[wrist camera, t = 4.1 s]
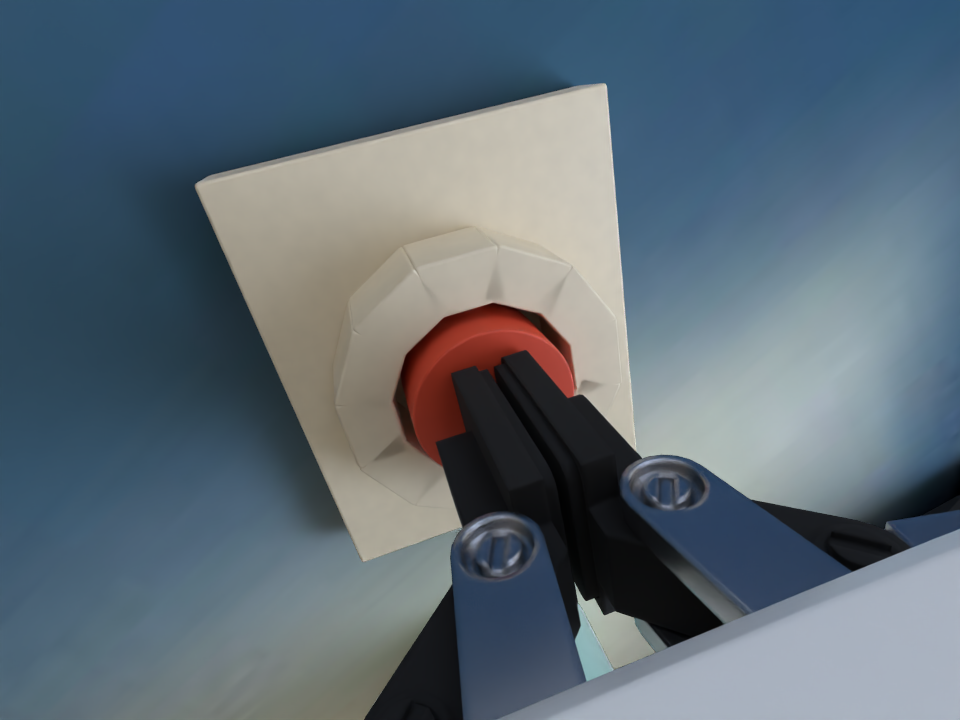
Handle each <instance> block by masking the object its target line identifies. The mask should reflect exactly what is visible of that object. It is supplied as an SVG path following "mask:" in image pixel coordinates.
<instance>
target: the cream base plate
mask: <svg viewBox="0 0 960 720" xmlns="http://www.w3.org/2000/svg"><path fill="white" fill-rule="evenodd" d="M195 189H196V191H197V194H198V196H199V198H200V200H201V202H202V205H203V207H204V209H205V211H206V214H207V216H208V218H209V220H210V223H211V225H212V227H213V229H214V232H215V234H216V236H217V238H218V241H219V243H220V245H221V247H222V250H223V252H224V254H225V256H226V258H227V261H228V263H229V265H230V267H231V270H232V272H233V274H234V276H235V279H236V281H237V283H238V285H239V288H240V290H241V292H242V294H243V297H244V299H245V301H246V303H247V306H248V308H249V310H250V312H251V315H252V317H253V319H254V321H255V323H256V326H257V328H258V330H259V332H260V335H261V337H262V339H263V341H264V344H265V346H266V348H267V350H268V353H269V355H270V357H271V359H272V362H273V364H274V366H275V368H276V371H277V373H278V375H279V377H280V379H281V382H282V384H283V386H284V388H285V391H286V393H287V395H288V397H289V400H290V402H291V404H292V406H293V409H294V411H295V413H296V415H297V418H298V420H299V422H300V424H301V427H302V429H303V431H304V433H305V436H306V438H307V440H308V442H309V444H310V447H311V449H312V451H313V453H314V456H315V458H316V460H317V462H318V465H319V467H320V469H321V471H322V474H323V476H324V478H325V480H326V483H327V485H328V487H329V489H330V492H331V494H332V496H333V498H334V500H335V503H336V505H337V507H338V509H339V512H340V514H341V516H342V518H343V521H344V523H345V525H346V527H347V530H348V532H349V534H350V536H351V539H352V541H353V543H354V545H355V548H356V550H357V552H358V554H359V556H360V559H361V561H362V562H366V561H369V560H371V559H374V558H377V557H380V556H383V555H385V554H388V553H391V552H394V551H397V550H399V549H402V548H405V547H408V546H411V545H413V544H416V543H419V542H422V541H425V540H427V539H430V538H433V537H436V536H439V535H441V534H444V533H447V532H450V531H453V530H455V529H458V528H461V527H462V525H461V522H460V519H459V516H458V513H457V510H456V507H455V504H454V501H453V498H452V495H451V492H450V488H449V485H448V482H447V479H446V476H445V472H444V469H443V467H442V466H441V465H439V464H438V463H436V462H435V461H434V460H433V459H432V458H430V457H429V455H428V454H427V453H426V452H425V451H424V449H423V448H422V446H421V444H420V443H419V441H418V438H417V436H416V433H415V430H414V426H413V423H412V419H411V416H410V412H409V409H408V405H407V402H406V398H405V394H404V391H403V387H402V383H401V370H402V366H403V363H404V359H405V356H406V354H407V353H408V352H409V351H410V350H411V349H412V348H413V347H414V346H415V345H416V344H417V343H418V342H419V341H420V340H421V339H422V338H423V337H424V336H425V335H426V334H427V333H428V332H429V331H430V330H432V329H433V328H434V327H435V326H436V325H437V324H438V323H439V322H440V321H441V320H442V319H443V318H444V317H447V316H450V315H454V314H457V313H460V312H464V311H467V310H470V309H474V308H477V307H481V306H484V305H487V304H491V303H496V304H500V305H505V306H509V307H513V308H515V309H517V310H518V311H520V312H521V313H522V314H523V315H525V316H526V317H527V318H528V319H529V320H530V321H531V322H532V323H533V324H534V325H535V326H536V327H537V328H538V329H539V331H540V332H541V333H542V334H543V335H544V336H545V337H546V338H547V339H548V340H549V341H550V342H551V343H552V344H553V345H554V346H555V347H556V348H557V349H558V350H559V351H560V353H561V354H562V355H563V356H564V358H565V360H566V361H567V363H568V365H569V368H570V370H571V373H572V377H573V382H574V396H576V395H579V394H581V395H584V396H585V397H586V398H587V399H588V400H589V401H590V402H591V403H592V404H593V405H594V406H595V408H596V409H597V410H598V411H599V412H600V413H601V414H602V415H603V416H604V417H605V418H606V420H607V421H608V422H609V423H610V424H611V425H612V426H613V427H614V428H615V429H616V430H617V431H618V433H619V434H620V435H621V436H622V437H623V438H624V439H625V440H626V441H627V442H628V443H629V445H630V446H631V447H632V448H633V449H634V450H635V451H636V440H635V428H634V415H633V403H632V391H631V378H630V366H629V354H628V341H627V329H626V317H625V305H624V292H623V280H622V268H621V255H620V243H619V231H618V218H617V206H616V194H615V181H614V169H613V157H612V144H611V132H610V120H609V107H608V95H607V86H606V84H603V83H602V84H591V85H581V86H575V87H571V88H567V89H562V90H558V91H554V92H550V93H546V94H542V95H538V96H534V97H530V98H525V99H521V100H517V101H513V102H509V103H505V104H501V105H497V106H493V107H488V108H484V109H480V110H476V111H472V112H468V113H464V114H460V115H456V116H452V117H447V118H443V119H439V120H435V121H431V122H427V123H423V124H419V125H415V126H410V127H406V128H402V129H398V130H394V131H390V132H386V133H382V134H378V135H373V136H369V137H365V138H361V139H357V140H353V141H349V142H345V143H341V144H337V145H332V146H328V147H324V148H320V149H316V150H312V151H308V152H304V153H300V154H295V155H291V156H287V157H283V158H279V159H275V160H271V161H267V162H263V163H258V164H254V165H250V166H246V167H242V168H238V169H234V170H230V171H226V172H222V173H217V174H213V175H210V176H208V177H206V178H204V179H203V180H201V181H199V182H197V183H196V184H195Z"/></svg>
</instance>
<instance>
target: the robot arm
mask: <svg viewBox="0 0 960 720" xmlns="http://www.w3.org/2000/svg"><path fill="white" fill-rule="evenodd" d="M494 373H495V378H496V382H497V383H496V382H495V380H494V379H493V377H492V375H491V374H490V372H489V371H488V369H485V370H482V371H479V370H478V368H477V367H476V366H472V367H469V368H466V369H463V370H460V371H456V372H453V373H451V377H452V381H453V385H454V389H455V393H456V396H457V400H458V404H459V408H460V411H461V415H462V419H463V423H464V426H465V430H466V432H464V433H461V434H458V435H455V436H452V437H449V438H446V439H443V440H440V441H437V442H436V446H437V449H438V453H439V456H440V459H441V462H442V466H443V469H444V472H445V476H446V479H447V482H448V485H449V488H450V492H451V495H452V498H453V501H454V504H455V507H456V510H457V513H458V516H459V519H460V522H461V525H462V528H463V529H462V530H461V531H460V532H459V533H458V534H457V536H456V538H455V540H454V542H453V544H452V547H451V556H450V559H451V571H452V586H451V587H450V589H449V590H448V592H447V593H446V595H445V596H444V598H443V599H442V601H441V603H440V604H439V606H438V607H437V609H436V610H435V612H434V613H433V615H432V616H431V618H430V619H429V621H428V622H427V624H426V625H425V627H424V628H423V630H422V631H421V633H420V634H419V636H418V638H417V639H416V641H415V642H414V644H413V645H412V647H411V648H410V650H409V651H408V653H407V654H406V656H405V657H404V659H403V660H402V662H401V663H400V665H399V666H398V668H397V670H396V671H395V673H394V674H393V676H392V677H391V679H390V680H389V682H388V683H387V685H386V686H385V688H384V689H383V691H382V692H381V694H380V695H379V697H378V698H377V700H376V702H375V703H374V705H373V706H372V708H371V709H370V711H369V712H368V714H367V715H366V717H365V719H364V720H960V510H956V511H950V512H944V513H938V514H931V515H925V516H919V517H912V518H906V519H900V520H894V521H887V522H886V527H885V530H884V529H882V528H880V527H877V526H875V525H872V524H868V523H865V522H861V521H858V520H853V519H848V518H843V517H837V516H832V515H827V514H822V513H817V512H812V511H806V510H801V509H796V508H791V507H786V506H781V505H776V504H770V503H765V502H760V501H755V500H750V499H748V498H747V497H746V496H744V495H743V494H741V493H740V492H739V491H737V490H736V489H734V488H733V487H731V486H730V485H729V484H727V483H726V482H724V481H723V480H721V479H720V478H719V477H717V476H716V475H714V474H713V473H712V472H710V471H709V470H707V469H706V468H704V467H703V466H701V465H700V464H698V463H696V462H694V461H692V460H690V459H687V458H683V457H679V456H673V455H656V456H649V457H646V458H643V459H642V458H641V456H640V455H639V454H638V453H637V452H636V451H635V450H634V449H633V448H632V447H631V446H630V445H629V443H628V442H627V441H626V440H625V439H624V438H623V437H622V436H621V435H620V434H619V433H618V431H617V430H616V429H615V428H614V427H613V426H612V425H611V424H610V423H609V422H608V421H607V420H606V418H605V417H604V416H603V415H602V414H601V413H600V412H599V411H598V410H597V409H596V408H595V406H594V405H593V404H592V403H591V402H590V401H589V400H588V399H587V398H586V397H585V396H584V395H581V394H579V395H576V396H573V397H570V398H567V397H566V395H565V394H564V393H563V392H562V391H561V390H560V388H559V387H558V386H557V385H556V384H555V383H554V381H553V380H552V379H551V378H550V377H549V376H548V374H547V373H546V372H545V371H544V370H543V369H542V367H541V366H540V365H539V364H538V363H537V361H536V360H535V359H534V358H533V357H532V356H531V354H530V353H529V352H528V351H527V350H523V351H520V352H517V353H514V354H511V355H507V356H504V357H501V365H498V366H494ZM574 582H575V584H576V586H577V587H578V589H579V591H580V593H581V595H582V597H583V598H584V600H585V601H588V600H590V599H593V598H595V600H596V602H597V604H598V605H599V607H600V609H601V611H602V613H603V614H604V615H607V614H609V613H612V612H614V611H616V612H619V613H622V614H625V615H628V616H631V617H634V620H635V624H636V626H637V628H638V630H639V631H640V633H641V635H642V636H643V637H644V638H645V640H646V641H647V642H648V643H649V645H650V646H651V647H652V648H653V649H654V651H655V652H656V653H654V654H652V655H649V656H647V657H645V658H642V659H640V660H637V661H635V662H633V663H630V664H628V665H625V666H623V667H620V668H618V669H616V670H613V671H611V672H608V673H606V674H604V675H601V676H599V677H597V678H594V679H592V680H589V681H586V677H585V674H584V670H583V667H582V664H581V660H580V657H579V653H578V650H577V647H576V643H575V639H576V636H577V634H578V632H579V629H580V627H581V622H580V617H579V611H578V606H577V604H578V600H577V595H576V589H575V584H574Z"/></svg>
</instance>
